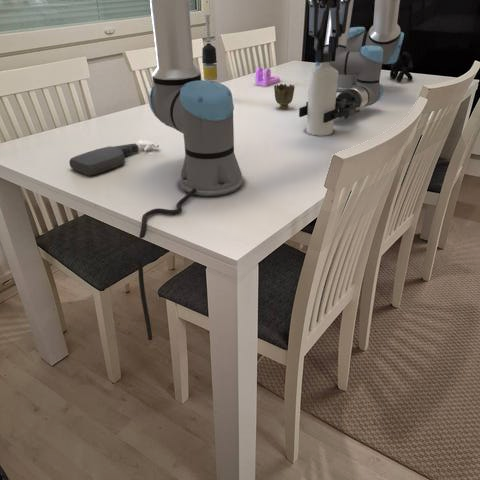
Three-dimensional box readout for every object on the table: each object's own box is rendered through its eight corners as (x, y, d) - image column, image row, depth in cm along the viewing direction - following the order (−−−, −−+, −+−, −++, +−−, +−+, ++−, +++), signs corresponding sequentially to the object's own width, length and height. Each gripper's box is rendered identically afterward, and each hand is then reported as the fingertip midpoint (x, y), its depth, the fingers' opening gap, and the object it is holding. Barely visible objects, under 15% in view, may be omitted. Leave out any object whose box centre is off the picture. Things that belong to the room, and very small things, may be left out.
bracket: (265, 86, 195) (266, 69, 191) (255, 84, 197) (255, 68, 194) (281, 80, 203) (282, 64, 200) (271, 79, 206) (271, 63, 203)
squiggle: (400, 92, 202) (376, 71, 205) (417, 76, 202) (392, 56, 205) (405, 81, 191) (380, 59, 194) (423, 64, 191) (397, 42, 194)
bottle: (311, 136, 138) (317, 58, 126) (302, 128, 145) (306, 53, 133) (337, 134, 140) (344, 56, 128) (326, 126, 147) (333, 51, 135)
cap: (319, 59, 134) (320, 51, 132) (332, 60, 132) (333, 51, 131) (317, 61, 130) (317, 53, 129) (330, 62, 129) (331, 53, 128)
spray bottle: (67, 168, 120) (139, 144, 136) (91, 178, 114) (163, 151, 130) (65, 157, 118) (137, 134, 134) (89, 167, 112) (162, 142, 128)
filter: (220, 99, 177) (217, 15, 161) (206, 100, 176) (202, 16, 160) (215, 96, 182) (212, 14, 166) (202, 97, 180) (197, 14, 164)
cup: (270, 109, 164) (270, 87, 160) (278, 104, 169) (278, 82, 165) (289, 111, 161) (290, 89, 157) (296, 106, 166) (297, 84, 162)
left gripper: (314, -31, 113) (308, 66, 125) (366, -33, 119) (355, 60, 132) (298, -31, 119) (294, 62, 131) (348, -33, 125) (339, 56, 138)
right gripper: (378, 117, 146) (340, 134, 132) (324, 106, 159) (284, 120, 145) (382, 94, 142) (343, 109, 128) (326, 84, 155) (285, 97, 141)
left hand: (325, 61), depth 131 cm, fingers closed on cap, 4 cm apart
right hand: (312, 115), depth 137 cm, fingers closed on bottle, 8 cm apart
